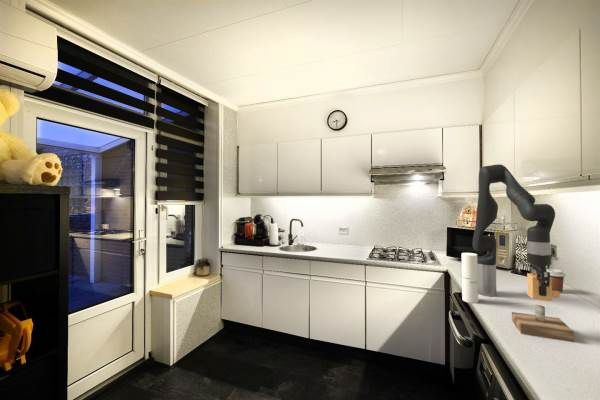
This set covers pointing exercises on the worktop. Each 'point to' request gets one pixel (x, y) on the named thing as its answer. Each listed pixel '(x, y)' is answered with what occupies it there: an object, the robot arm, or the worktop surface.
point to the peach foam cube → (534, 289)
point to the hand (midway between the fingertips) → (539, 292)
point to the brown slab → (542, 325)
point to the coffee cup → (557, 279)
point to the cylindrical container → (469, 278)
